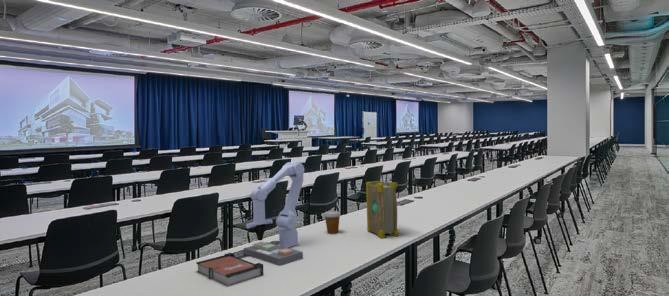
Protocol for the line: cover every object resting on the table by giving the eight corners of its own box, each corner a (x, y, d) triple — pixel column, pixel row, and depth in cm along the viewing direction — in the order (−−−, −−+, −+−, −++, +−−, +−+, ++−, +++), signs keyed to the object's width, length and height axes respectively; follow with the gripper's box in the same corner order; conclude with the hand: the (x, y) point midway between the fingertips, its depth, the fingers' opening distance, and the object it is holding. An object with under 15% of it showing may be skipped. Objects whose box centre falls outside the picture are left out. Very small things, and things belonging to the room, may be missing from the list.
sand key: (261, 245, 210) (261, 241, 210) (267, 247, 207) (267, 243, 207) (253, 247, 207) (253, 243, 207) (259, 249, 203) (259, 245, 203)
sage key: (269, 248, 206) (269, 243, 206) (275, 249, 202) (275, 245, 202) (261, 250, 202) (261, 245, 202) (267, 251, 199) (267, 247, 199)
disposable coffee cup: (327, 235, 237) (326, 214, 237) (323, 231, 246) (322, 211, 246) (342, 233, 240) (342, 213, 239) (338, 230, 249) (337, 210, 249)
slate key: (277, 253, 201) (277, 249, 201) (283, 255, 198) (283, 250, 198) (269, 255, 198) (269, 251, 198) (275, 257, 195) (275, 253, 194)
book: (195, 273, 180) (194, 261, 180) (230, 263, 192) (230, 252, 192) (226, 287, 162) (225, 275, 161) (263, 276, 174) (263, 264, 174)
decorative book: (366, 231, 244) (364, 180, 243) (382, 229, 248) (381, 179, 247) (382, 239, 225) (380, 184, 224) (399, 236, 229) (398, 182, 228)
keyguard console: (266, 247, 215) (266, 241, 215) (302, 258, 196) (302, 251, 195) (243, 254, 205) (243, 247, 205) (279, 265, 185) (279, 258, 185)
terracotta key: (286, 252, 197) (285, 248, 197) (292, 254, 193) (292, 250, 193) (278, 255, 193) (277, 250, 193) (284, 257, 190) (284, 252, 190)
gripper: (266, 209, 214) (267, 235, 215) (242, 214, 204) (243, 241, 204) (274, 211, 209) (275, 238, 210) (250, 215, 199) (251, 244, 199)
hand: (260, 240), depth 207 cm, fingers closed
